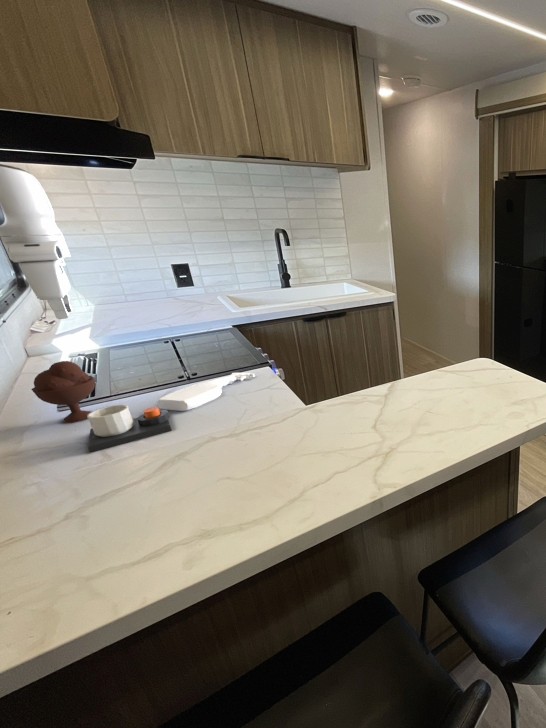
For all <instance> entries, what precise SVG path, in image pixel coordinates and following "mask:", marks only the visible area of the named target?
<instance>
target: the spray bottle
mask: <svg viewBox="0 0 546 728" xmlns="http://www.w3.org/2000/svg"><path fill="white" fill-rule="evenodd" d="M254 377H256V373H253V372H232V373H231V374H229V375H227V376H223V377H219V378H216V379H211V380H207V381H200V382H198V383H194V384H191V385H188V386H186V387H182V388H180V389H178V390H175V391H172V392H171V393H168V394H166V395H163V396H162V397H160V398H158V400H157V405H158V406H157V407H158V408H159V409H160V410H167V411H178V412H187V411H190V410H193V409H196V408H198V407H200V406H203V405H204V404H207V403H209V402H211V401H213V400H216V399H217V398H219V397H220V396H221V395H222V392H223V390H222V388H224V387H226V386H228V385H232V384H234V382H236V381H240V382H242V381H244V379H249V378H254Z"/></svg>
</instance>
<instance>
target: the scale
mask: <svg viewBox="0 0 546 728" xmlns="http://www.w3.org/2000/svg"><path fill="white" fill-rule="evenodd" d="M159 411H160V415H158V416H156V417H152V418H145V415H144V413H142V414H140V415H139V416H137V417H132V418H133V420H134V423H135V425H134V426H133V427H132V428H131V429H130V430H128V431H126V432H124V433H121V434H118V435H114V436H108V437H101V436H97V435H95V433H94V431H93V429H92V428H90V430H89V435H88V436H89V437H88V438H89V439H88V445H87V448H88V450H89V452H90V453H93V452H97V451H100V450H104V449H108V448H111V447H115V446H119V445H122V444H126V443H130V442H134V441H137V440H140V439H145V438H148V437H152V436H157V435H159V434H163V433H166V432H167V433H168V432H170V431H172V426H171V423H170V419H171V417H170V414H169V410H165V409H159Z"/></svg>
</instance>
